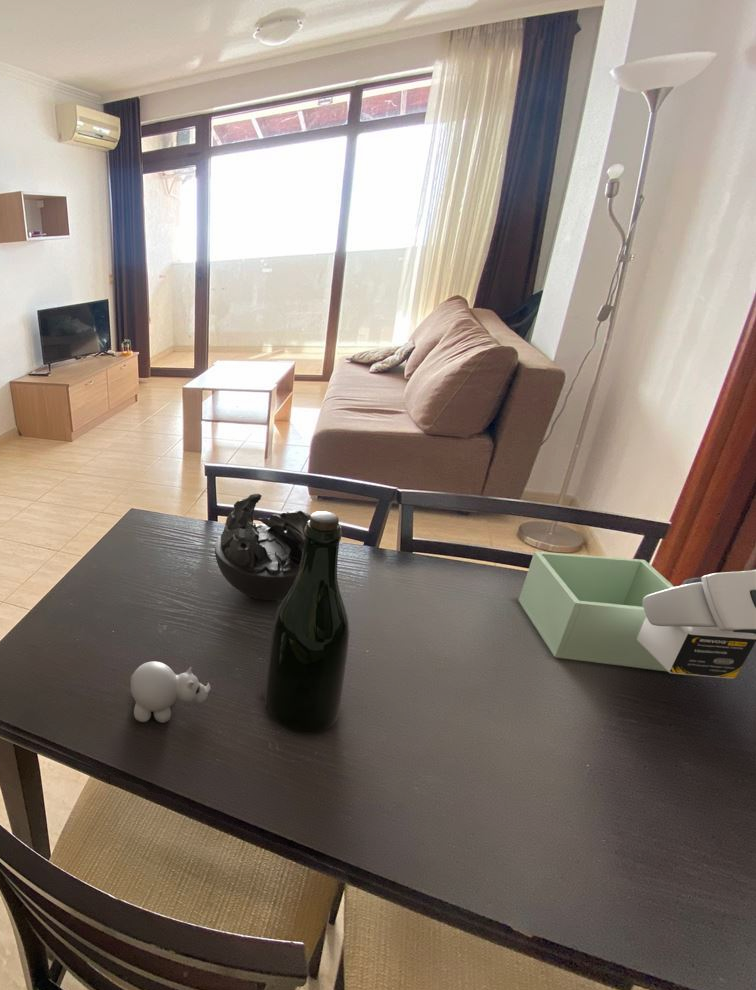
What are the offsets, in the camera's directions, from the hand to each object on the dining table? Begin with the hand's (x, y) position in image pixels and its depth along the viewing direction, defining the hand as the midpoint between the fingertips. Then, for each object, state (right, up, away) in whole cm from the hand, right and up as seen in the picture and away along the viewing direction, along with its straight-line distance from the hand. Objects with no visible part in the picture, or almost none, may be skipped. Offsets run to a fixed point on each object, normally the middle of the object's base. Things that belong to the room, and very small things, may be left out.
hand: (697, 617), depth 72 cm
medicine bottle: (+1, -6, +2) cm, 7 cm away
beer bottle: (-50, -16, +10) cm, 53 cm away
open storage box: (+3, -7, +19) cm, 21 cm away
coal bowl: (-46, -3, +37) cm, 59 cm away
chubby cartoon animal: (-69, -17, +11) cm, 72 cm away
